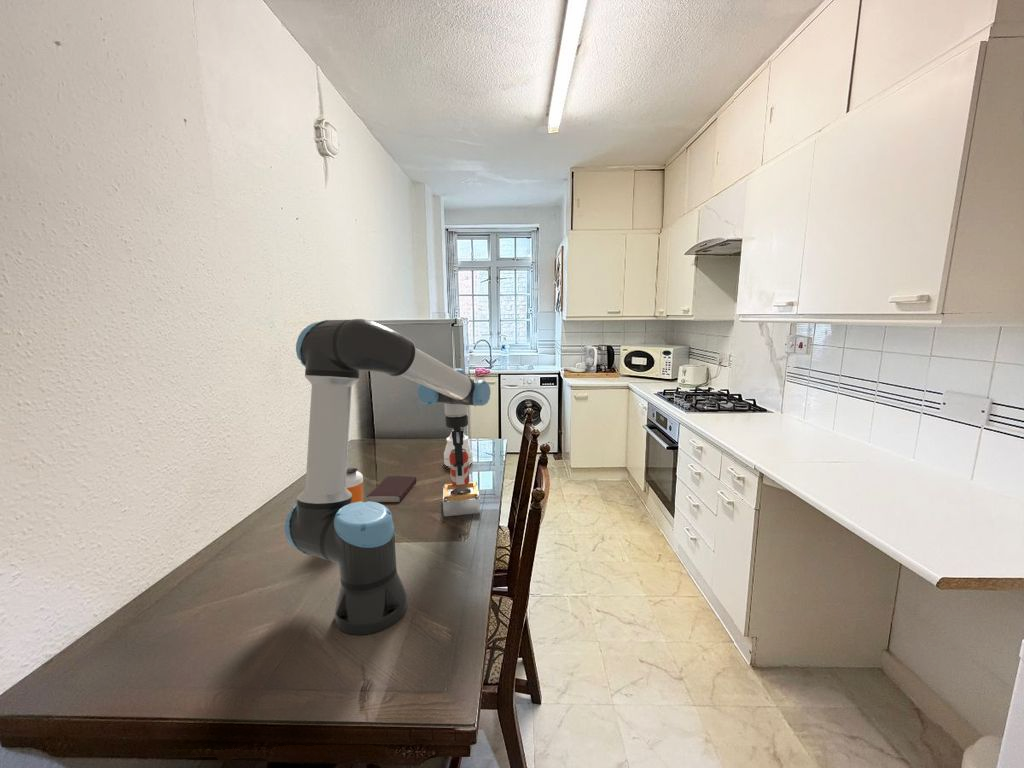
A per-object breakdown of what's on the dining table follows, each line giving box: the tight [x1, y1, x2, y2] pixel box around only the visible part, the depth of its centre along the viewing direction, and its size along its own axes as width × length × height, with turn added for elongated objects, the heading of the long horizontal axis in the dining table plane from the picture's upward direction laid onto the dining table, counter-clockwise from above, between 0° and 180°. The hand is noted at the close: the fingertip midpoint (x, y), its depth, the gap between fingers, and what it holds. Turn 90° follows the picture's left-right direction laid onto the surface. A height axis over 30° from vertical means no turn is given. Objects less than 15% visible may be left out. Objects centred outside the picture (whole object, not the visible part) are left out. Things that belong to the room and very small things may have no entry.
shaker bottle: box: [346, 467, 364, 503], centre depth 129 cm, size 9×9×20 cm
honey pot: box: [443, 429, 474, 468], centre depth 191 cm, size 13×13×18 cm
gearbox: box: [442, 481, 481, 517], centre depth 146 cm, size 14×12×6 cm
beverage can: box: [449, 449, 471, 487], centre depth 144 cm, size 6×6×12 cm
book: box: [367, 475, 417, 503], centre depth 161 cm, size 13×19×3 cm, turn 175°
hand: (460, 480), depth 145 cm, fingers closed on beverage can, 6 cm apart
